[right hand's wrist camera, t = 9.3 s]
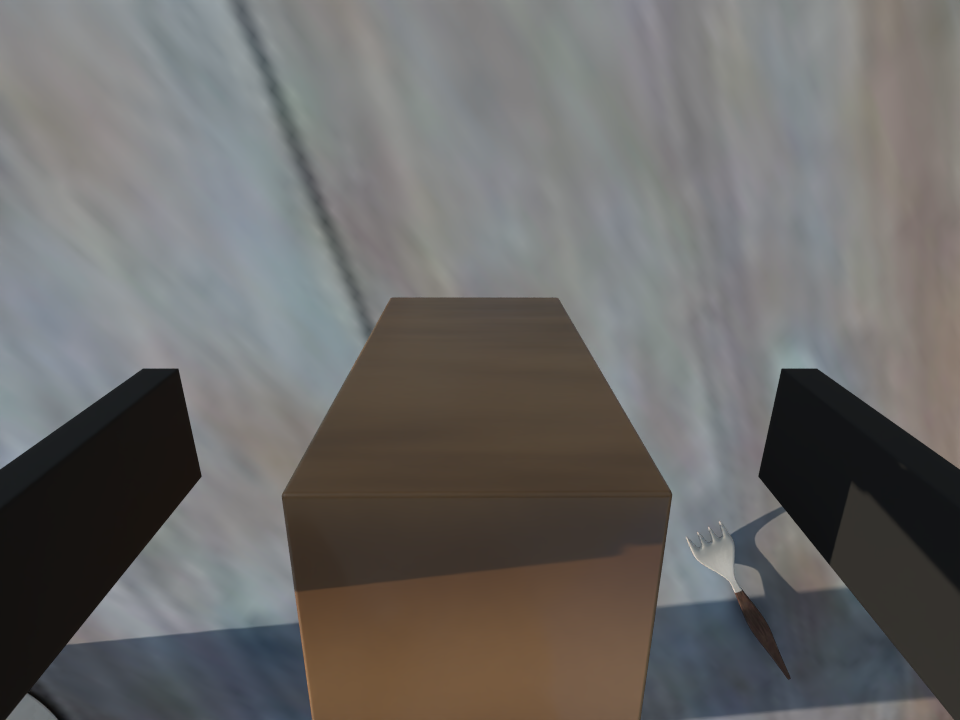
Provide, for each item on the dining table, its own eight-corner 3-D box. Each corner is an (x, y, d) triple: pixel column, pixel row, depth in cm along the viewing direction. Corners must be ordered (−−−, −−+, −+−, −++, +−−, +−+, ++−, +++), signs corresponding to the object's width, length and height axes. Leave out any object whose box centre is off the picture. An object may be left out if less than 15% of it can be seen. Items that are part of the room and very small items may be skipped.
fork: (768, 680, 40) (782, 705, 38) (672, 519, 36) (683, 540, 34) (803, 665, 40) (819, 690, 38) (711, 500, 35) (724, 520, 33)
